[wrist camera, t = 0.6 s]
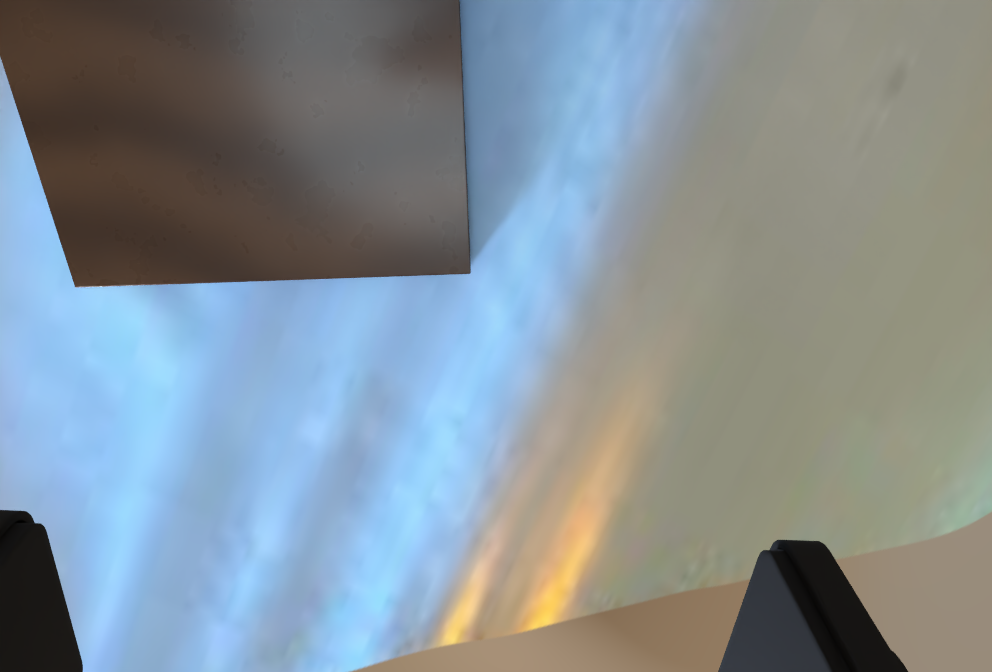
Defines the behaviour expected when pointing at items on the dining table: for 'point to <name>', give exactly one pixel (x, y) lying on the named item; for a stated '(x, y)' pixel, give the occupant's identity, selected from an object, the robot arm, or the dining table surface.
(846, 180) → the dining table surface
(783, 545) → the robot arm
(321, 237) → the board
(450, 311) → the dining table surface
